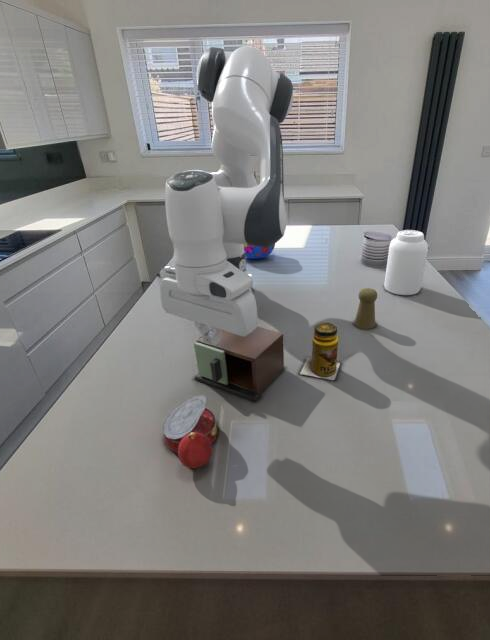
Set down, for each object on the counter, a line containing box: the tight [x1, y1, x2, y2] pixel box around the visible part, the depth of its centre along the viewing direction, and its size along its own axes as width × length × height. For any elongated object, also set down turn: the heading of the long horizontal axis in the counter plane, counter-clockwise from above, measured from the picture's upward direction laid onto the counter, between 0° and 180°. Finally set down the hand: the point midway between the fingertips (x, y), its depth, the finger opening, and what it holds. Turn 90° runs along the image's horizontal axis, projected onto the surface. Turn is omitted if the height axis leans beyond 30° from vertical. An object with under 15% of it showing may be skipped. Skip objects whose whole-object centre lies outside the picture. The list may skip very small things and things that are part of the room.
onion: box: [177, 432, 213, 469], centre depth 65 cm, size 6×6×8 cm
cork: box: [354, 287, 378, 330], centre depth 108 cm, size 6×6×11 cm
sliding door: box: [193, 341, 228, 385], centre depth 83 cm, size 8×3×9 cm, turn 61°
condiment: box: [299, 322, 341, 381], centre depth 88 cm, size 7×8×12 cm
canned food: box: [162, 394, 218, 454], centre depth 71 cm, size 11×10×10 cm
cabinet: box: [194, 326, 285, 402], centre depth 87 cm, size 17×14×10 cm
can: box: [361, 230, 394, 268], centre depth 153 cm, size 11×11×12 cm
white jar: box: [383, 229, 429, 296], centre depth 127 cm, size 12×12×20 cm
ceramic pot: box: [244, 243, 276, 260], centre depth 159 cm, size 18×18×15 cm
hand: (211, 341), depth 72 cm, fingers closed
